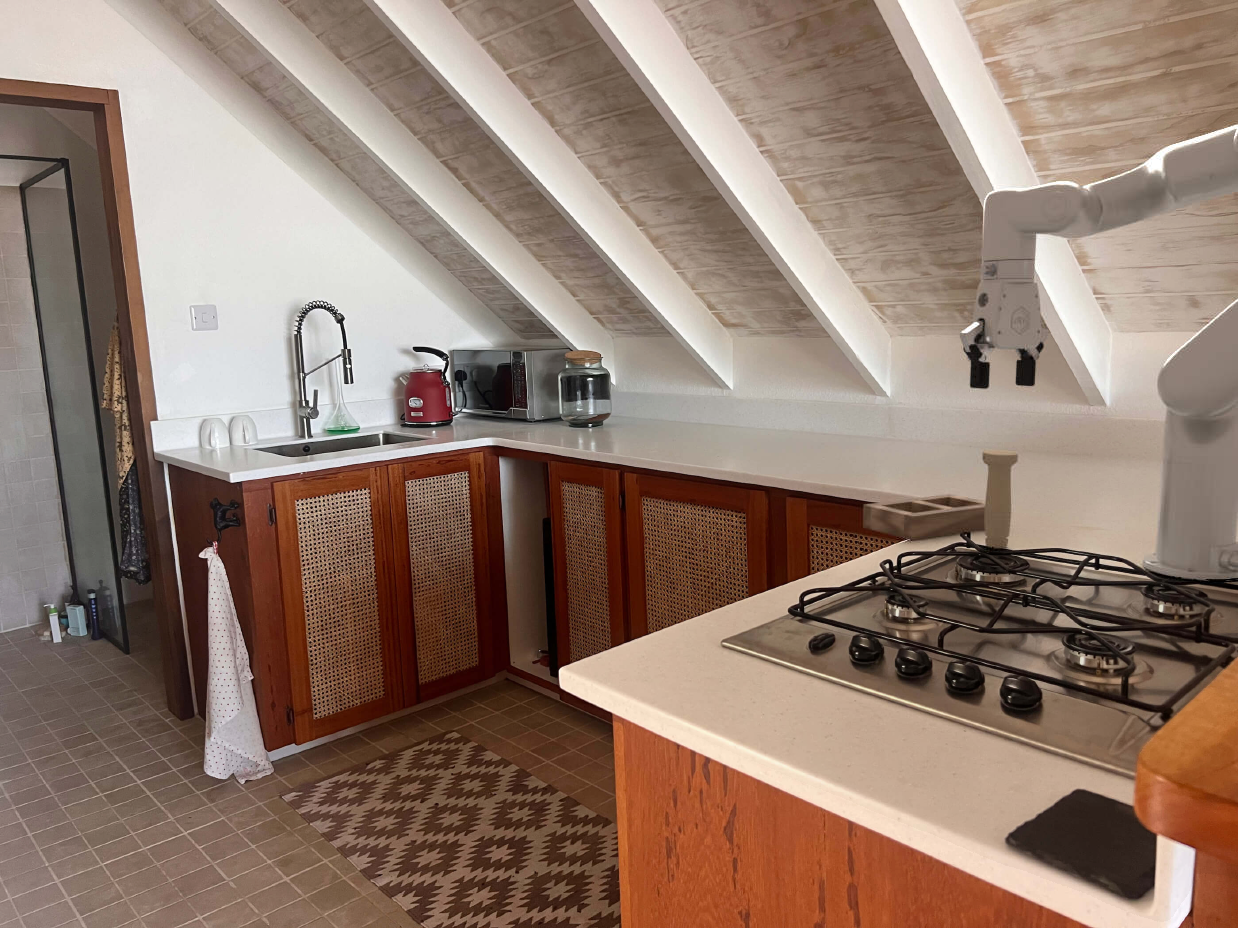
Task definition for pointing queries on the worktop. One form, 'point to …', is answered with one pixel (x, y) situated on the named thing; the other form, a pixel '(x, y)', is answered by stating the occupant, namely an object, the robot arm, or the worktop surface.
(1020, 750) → the worktop surface
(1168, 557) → the robot arm
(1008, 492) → the handle
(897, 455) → the worktop surface
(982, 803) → the worktop surface
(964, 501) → the grey rectangular tray
